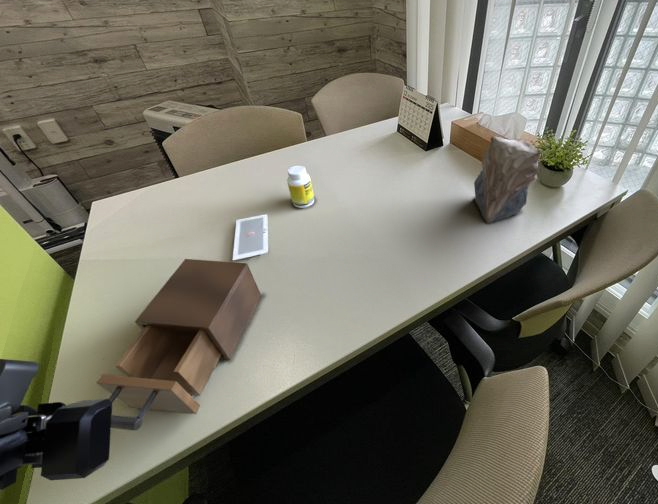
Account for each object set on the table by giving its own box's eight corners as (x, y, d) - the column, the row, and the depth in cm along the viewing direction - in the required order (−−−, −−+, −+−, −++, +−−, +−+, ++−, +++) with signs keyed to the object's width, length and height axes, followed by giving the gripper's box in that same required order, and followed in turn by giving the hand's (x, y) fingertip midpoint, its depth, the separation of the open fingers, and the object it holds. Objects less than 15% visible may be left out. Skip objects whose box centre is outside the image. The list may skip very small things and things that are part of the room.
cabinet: (230, 359, 58) (208, 327, 52) (164, 353, 59) (134, 321, 53) (262, 296, 69) (247, 263, 62) (205, 292, 70) (185, 258, 63)
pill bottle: (312, 208, 92) (304, 176, 85) (290, 208, 92) (281, 176, 85) (316, 195, 97) (310, 163, 90) (296, 195, 97) (288, 163, 90)
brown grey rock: (470, 195, 97) (480, 134, 84) (510, 191, 98) (526, 131, 86) (485, 223, 87) (499, 159, 74) (529, 219, 88) (551, 154, 76)
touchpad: (234, 263, 76) (231, 257, 75) (237, 223, 87) (235, 217, 86) (269, 255, 78) (266, 249, 77) (268, 217, 89) (266, 211, 88)
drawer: (177, 450, 47) (148, 429, 42) (104, 442, 48) (66, 420, 42) (234, 338, 61) (218, 311, 55) (177, 333, 61) (155, 306, 56)
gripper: (22, 372, 26) (168, 332, 41) (-193, 391, 27) (30, 344, 42) (3, 533, 24) (165, 428, 39) (-228, 549, 25) (19, 440, 40)
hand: (93, 407), depth 40 cm, fingers closed
